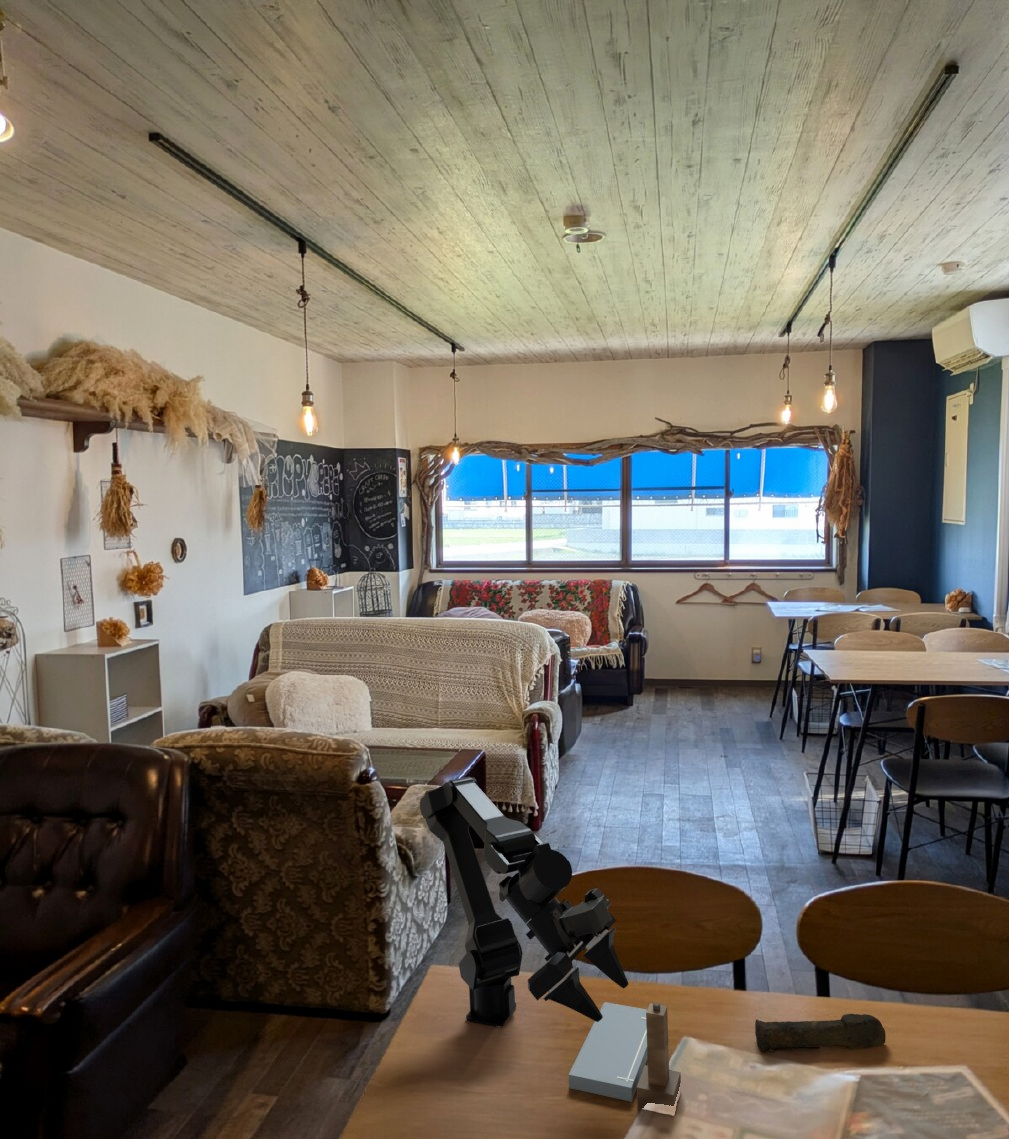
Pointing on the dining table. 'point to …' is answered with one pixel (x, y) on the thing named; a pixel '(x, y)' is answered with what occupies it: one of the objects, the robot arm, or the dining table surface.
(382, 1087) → the dining table surface
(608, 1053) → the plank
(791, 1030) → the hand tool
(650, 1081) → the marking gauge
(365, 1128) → the dining table surface
